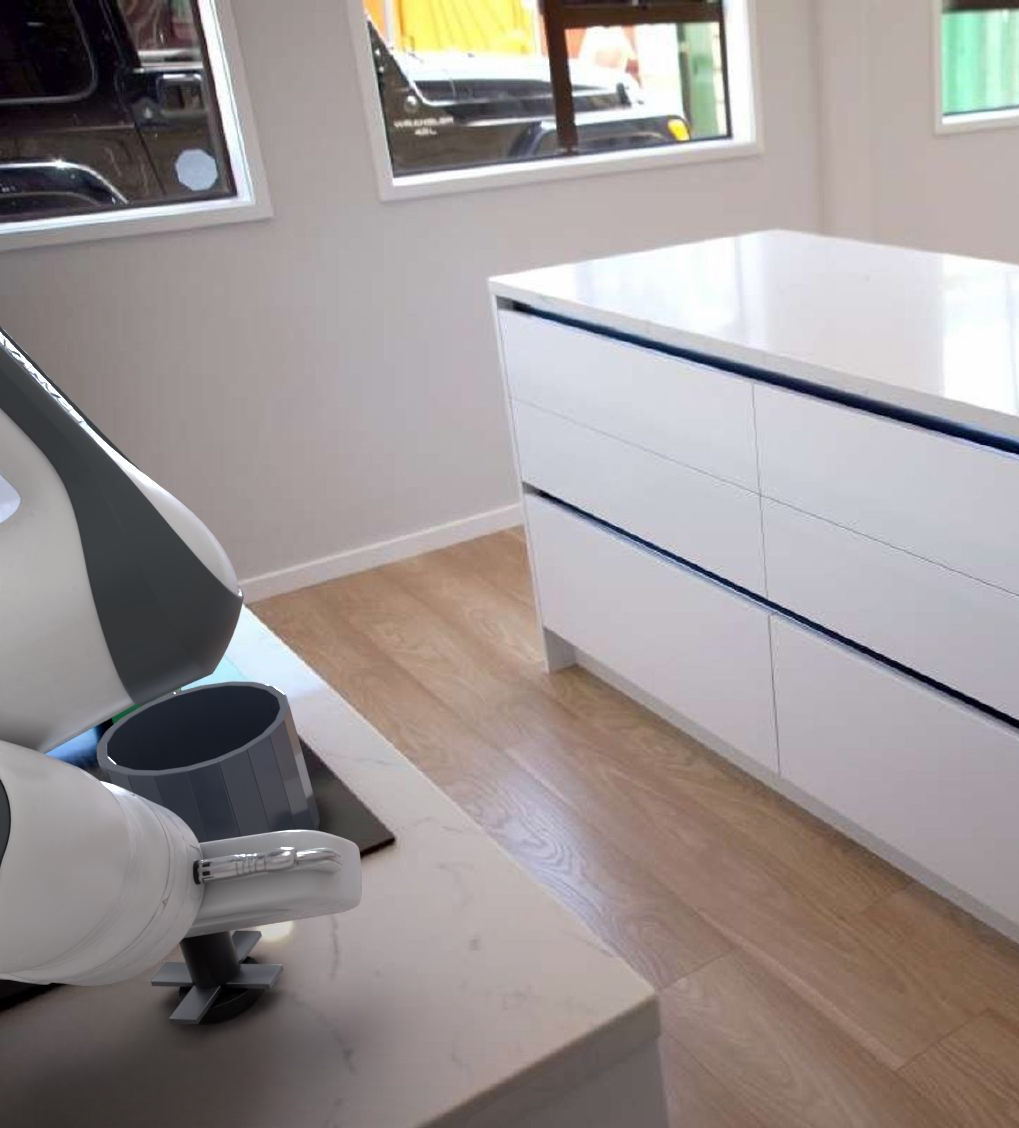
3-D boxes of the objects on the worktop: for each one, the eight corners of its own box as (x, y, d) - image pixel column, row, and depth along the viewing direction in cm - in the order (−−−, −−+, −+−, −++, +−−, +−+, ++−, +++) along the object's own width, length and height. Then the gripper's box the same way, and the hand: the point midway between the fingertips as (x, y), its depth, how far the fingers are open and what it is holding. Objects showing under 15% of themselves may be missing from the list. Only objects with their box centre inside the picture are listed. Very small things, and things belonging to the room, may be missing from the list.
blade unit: (130, 1041, 72) (76, 899, 68) (199, 952, 78) (154, 817, 74) (251, 1044, 71) (205, 901, 67) (311, 954, 78) (272, 818, 74)
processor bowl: (99, 873, 86) (56, 754, 82) (239, 781, 96) (205, 669, 92) (222, 915, 82) (182, 790, 78) (355, 813, 91) (326, 698, 87)
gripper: (323, 786, 63) (388, 832, 76) (-134, 853, 60) (15, 889, 73) (327, 917, 61) (394, 941, 74) (-146, 993, 58) (9, 1005, 71)
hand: (202, 916), depth 73 cm, fingers closed on blade unit, 2 cm apart
